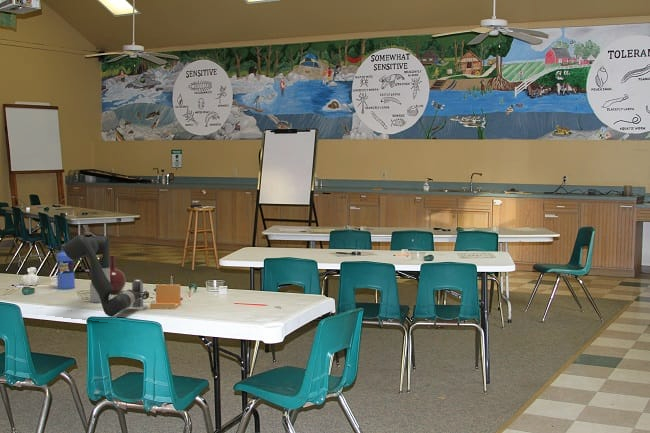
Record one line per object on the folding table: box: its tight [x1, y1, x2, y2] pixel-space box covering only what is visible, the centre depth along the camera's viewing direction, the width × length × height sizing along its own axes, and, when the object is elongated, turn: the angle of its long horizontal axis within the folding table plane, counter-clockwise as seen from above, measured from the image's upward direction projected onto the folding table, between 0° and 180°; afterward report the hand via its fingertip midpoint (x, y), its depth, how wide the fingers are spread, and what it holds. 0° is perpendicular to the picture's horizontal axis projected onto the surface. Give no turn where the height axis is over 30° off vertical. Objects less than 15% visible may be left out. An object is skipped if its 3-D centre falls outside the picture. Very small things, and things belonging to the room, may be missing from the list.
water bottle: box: [55, 243, 76, 291], centre depth 450 cm, size 9×9×25 cm
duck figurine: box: [20, 266, 40, 286], centre depth 464 cm, size 12×8×11 cm
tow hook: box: [169, 275, 183, 301], centre depth 414 cm, size 8×13×9 cm
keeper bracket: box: [149, 284, 182, 310], centre depth 396 cm, size 12×11×10 cm
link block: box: [131, 279, 144, 308], centre depth 397 cm, size 4×4×13 cm
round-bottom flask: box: [110, 255, 127, 294], centre depth 434 cm, size 13×13×20 cm
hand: (137, 292), depth 398 cm, fingers open, 8 cm apart
